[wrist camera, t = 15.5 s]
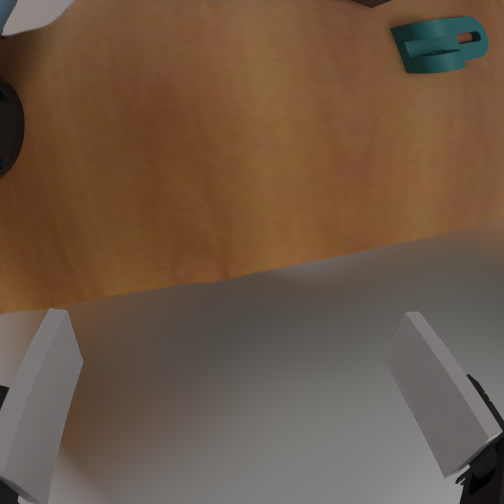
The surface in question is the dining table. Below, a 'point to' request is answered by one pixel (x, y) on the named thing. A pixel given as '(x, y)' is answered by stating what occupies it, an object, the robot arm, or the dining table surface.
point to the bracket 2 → (439, 44)
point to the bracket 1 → (371, 2)
